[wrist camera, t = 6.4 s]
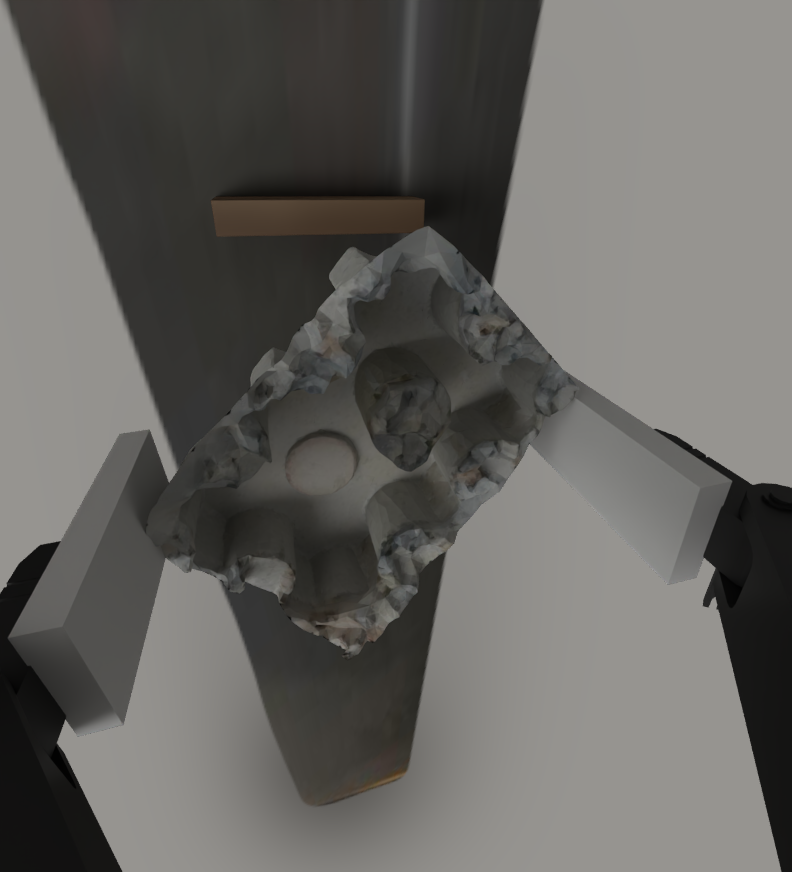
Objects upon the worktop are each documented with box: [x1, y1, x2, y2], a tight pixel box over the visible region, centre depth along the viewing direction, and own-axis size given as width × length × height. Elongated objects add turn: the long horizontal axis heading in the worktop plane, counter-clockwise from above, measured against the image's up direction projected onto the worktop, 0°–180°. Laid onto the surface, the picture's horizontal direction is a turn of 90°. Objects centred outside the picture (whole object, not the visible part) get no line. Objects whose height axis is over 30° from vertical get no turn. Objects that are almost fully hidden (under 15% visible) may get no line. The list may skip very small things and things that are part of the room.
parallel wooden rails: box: [211, 196, 425, 237], centre depth 28 cm, size 19×10×2 cm, turn 179°
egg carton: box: [146, 226, 580, 661], centre depth 13 cm, size 11×8×4 cm
